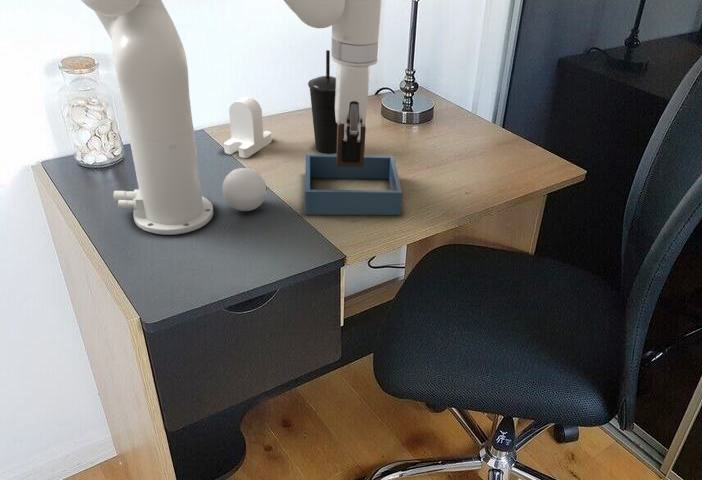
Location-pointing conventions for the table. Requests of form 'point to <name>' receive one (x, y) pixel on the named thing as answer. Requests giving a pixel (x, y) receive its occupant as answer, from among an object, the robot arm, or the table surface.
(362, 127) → the walnut block
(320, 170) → the desk tub
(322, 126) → the drinking cup
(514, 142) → the table surface
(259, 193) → the white ball
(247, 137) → the cable organizer
